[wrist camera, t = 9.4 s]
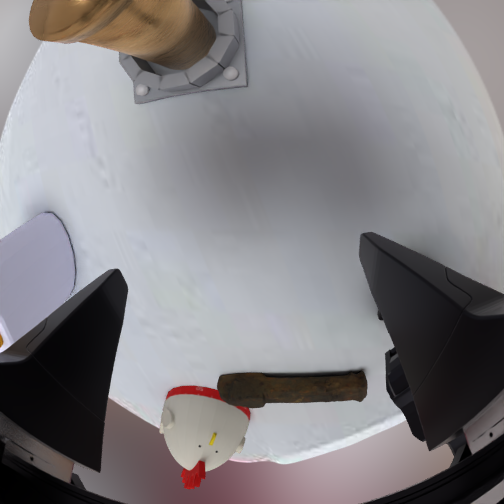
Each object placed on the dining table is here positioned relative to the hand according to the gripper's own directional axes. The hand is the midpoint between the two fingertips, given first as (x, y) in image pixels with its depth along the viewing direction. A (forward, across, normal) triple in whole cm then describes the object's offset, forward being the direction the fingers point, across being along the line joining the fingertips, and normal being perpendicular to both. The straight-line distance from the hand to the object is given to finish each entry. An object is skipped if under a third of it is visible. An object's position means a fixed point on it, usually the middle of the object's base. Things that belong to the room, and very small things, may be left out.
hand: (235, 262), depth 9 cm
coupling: (+14, +3, -11) cm, 18 cm away
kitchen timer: (+11, +12, +35) cm, 39 cm away
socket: (+14, +2, -11) cm, 18 cm away
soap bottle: (+16, +25, +6) cm, 30 cm away
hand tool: (+11, -2, +27) cm, 29 cm away
